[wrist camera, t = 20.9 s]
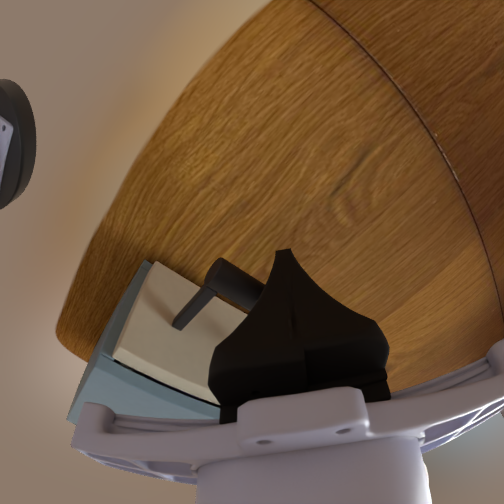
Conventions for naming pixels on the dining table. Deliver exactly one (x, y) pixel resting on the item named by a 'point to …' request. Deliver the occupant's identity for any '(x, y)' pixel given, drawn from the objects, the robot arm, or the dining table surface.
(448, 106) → the dining table surface
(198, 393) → the beige drawer
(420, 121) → the dining table surface
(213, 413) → the grey drawer box
